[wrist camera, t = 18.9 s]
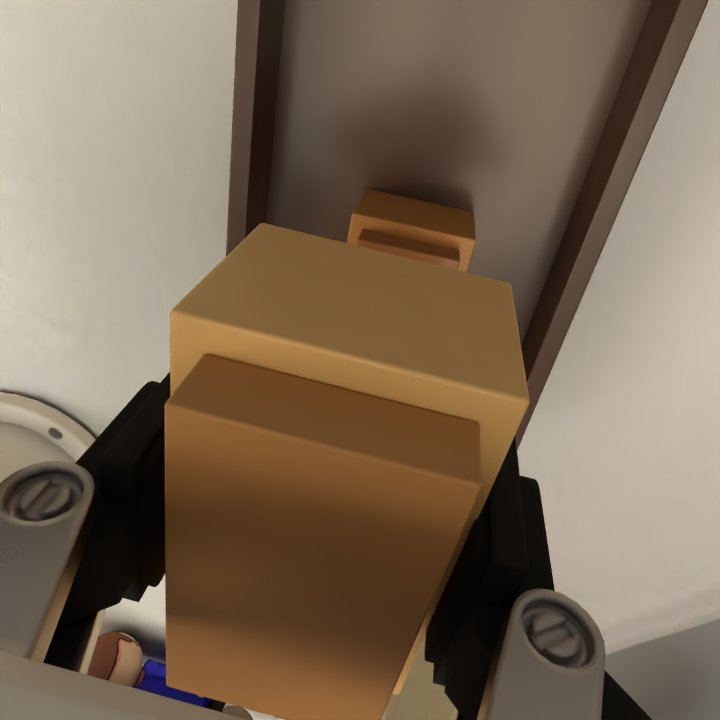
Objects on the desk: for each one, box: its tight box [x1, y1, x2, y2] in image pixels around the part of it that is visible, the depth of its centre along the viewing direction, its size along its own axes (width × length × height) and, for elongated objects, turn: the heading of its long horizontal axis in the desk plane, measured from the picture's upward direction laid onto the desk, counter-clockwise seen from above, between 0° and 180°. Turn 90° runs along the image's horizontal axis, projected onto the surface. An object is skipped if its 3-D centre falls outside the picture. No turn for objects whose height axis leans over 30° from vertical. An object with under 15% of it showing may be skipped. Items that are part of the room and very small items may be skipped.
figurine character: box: [87, 632, 253, 720], centre depth 45 cm, size 7×8×15 cm
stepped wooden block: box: [165, 223, 530, 720], centre depth 10 cm, size 5×8×5 cm, turn 169°
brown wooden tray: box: [226, 0, 708, 449], centre depth 23 cm, size 15×22×4 cm
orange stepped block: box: [347, 189, 476, 272], centre depth 24 cm, size 5×8×5 cm, turn 170°
